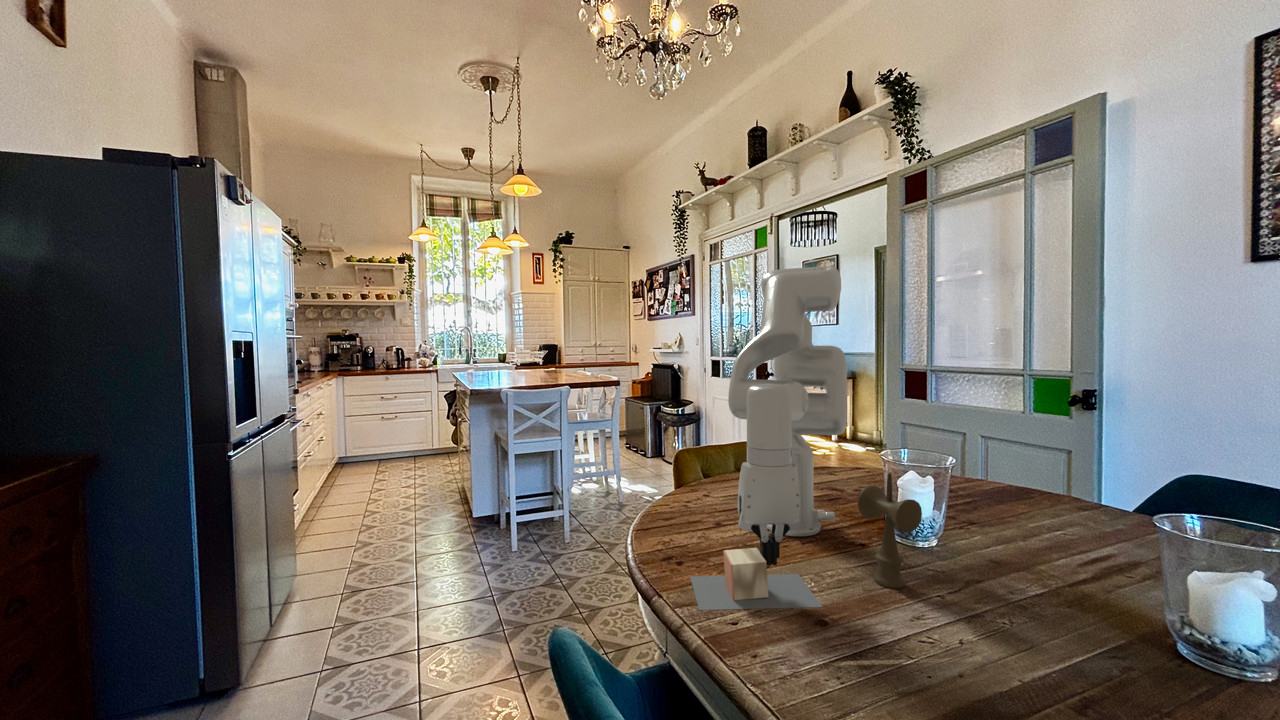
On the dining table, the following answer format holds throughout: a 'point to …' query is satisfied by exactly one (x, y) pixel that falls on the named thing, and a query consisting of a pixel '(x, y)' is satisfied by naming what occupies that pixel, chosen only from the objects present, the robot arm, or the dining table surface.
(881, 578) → the kendama
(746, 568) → the birch cube
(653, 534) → the dining table surface
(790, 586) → the slate mat
